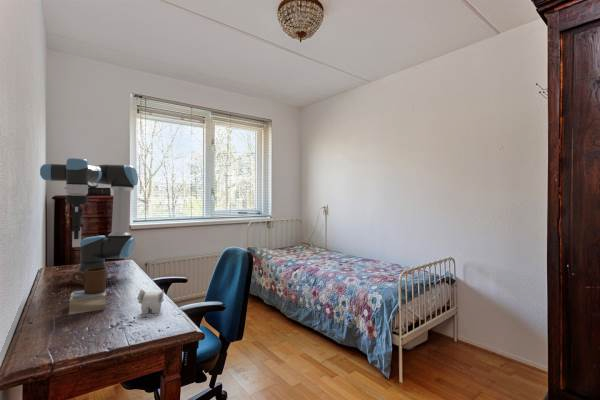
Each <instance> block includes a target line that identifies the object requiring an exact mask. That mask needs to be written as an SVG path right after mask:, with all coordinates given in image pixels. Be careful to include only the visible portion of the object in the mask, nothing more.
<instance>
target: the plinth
mask: <svg viewBox="0 0 600 400" xmlns="http://www.w3.org/2000/svg"><path fill="white" fill-rule="evenodd" d="M68 304H69V305H68V315H75V314H82V313H88V312H95V311H101V310H106V309H107V308H106V307H107V306H106V305H107V289H106V290H105V291H104V292H101V293H97V294H86V293H85V292H84V289H83V290H75V291H72V292H71V294H70V296H69V299H68Z"/></svg>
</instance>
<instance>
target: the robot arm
mask: <svg viewBox="0 0 600 400" xmlns="http://www.w3.org/2000/svg"><path fill="white" fill-rule="evenodd" d="M39 174H40V177H41V178H42V180H44V181H50V182H66V183H65V184H66V186H64V190H65V193H66V194H67V195H66V196H65V204H66V205H73V207H71V209H70V213H71V219H72V227H71V228H70V229H69V231H70V232H71V240H72V241H71V245H72V246H71V247H72V248H79V249H80V251H79V252H80V253H79V255H80V257H79V258H80V259H79V267H78V269H77V271H76V272H78V271H81V272H85V270H87V269H91V268H106V278H107V277H108V276H109V271H108V267H107V265H106V259H107V260H108V259H120V260H121V259H129V258H130V257H131V256H132V255H133V253H134V251H135V248H136V240H135V238H134V237H132V233H130V214H131V212H130V211H131V194H132V193H131V192H132V191H134V189H135V186H137V185H138V183H139V176H138V172H137V168H135V167H134V166H133V165H128V164H97V165H96V164H95V165H93V164H92V165H89V161H88V159H85V158H73V157H72V158H67V160H66V164H62V163H59V164H58V163H44V164H42V165H41V166H40V168H39ZM89 183H94V184H100V185H107V186H108V185H109V186H110V188H111V189H112V190H113V197H112V198H113V200H112V216H111V217H112V221H111V232H110V233H109V234H108V235H107V237H106V235H96V236H94V235H93V236H87V237H84V238H82V228H83V227H84V225H83V224H82V217H83V211H84V208H83V207H82V205H87V204H89V203H88V202H89V201H88V200H89V199H88V194H89V185H88V184H89ZM76 278H77V279H79V280H80V279H82V280H84V276H80V275H76Z"/></svg>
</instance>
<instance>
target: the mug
mask: <svg viewBox="0 0 600 400" xmlns="http://www.w3.org/2000/svg"><path fill="white" fill-rule="evenodd" d="M77 271H78V270H77ZM77 271H75V272H73V273H72V274H71V281H72V282H73V283H74V284H78V285H79V284H80V285H82V286H84V289H83V290H84V292H85V293H86V294H97V293H101V292H104V291H105V290H106V291H107V277H106V268H91V269H87V270H85V272H81V271H78V272H77ZM76 275H80V276H84V280H82V279H80V280H79V279H77V278H76Z"/></svg>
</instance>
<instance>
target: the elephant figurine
mask: <svg viewBox="0 0 600 400" xmlns="http://www.w3.org/2000/svg"><path fill="white" fill-rule="evenodd" d="M164 292H165V290H164V288H163V289H162V291H145V290H143V289H140V290H139V293H138V296H137V298H136V299H137V301H138V303H139V304H140V310H141V314H142V315H146V314H149V313H150V311H151V314H157V313H159V311H161V308H162V303H164V301H165V300H164Z"/></svg>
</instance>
